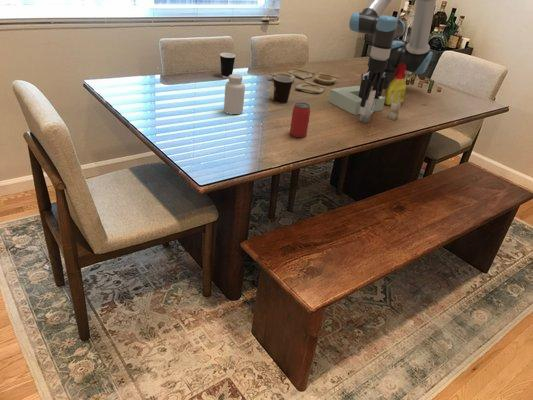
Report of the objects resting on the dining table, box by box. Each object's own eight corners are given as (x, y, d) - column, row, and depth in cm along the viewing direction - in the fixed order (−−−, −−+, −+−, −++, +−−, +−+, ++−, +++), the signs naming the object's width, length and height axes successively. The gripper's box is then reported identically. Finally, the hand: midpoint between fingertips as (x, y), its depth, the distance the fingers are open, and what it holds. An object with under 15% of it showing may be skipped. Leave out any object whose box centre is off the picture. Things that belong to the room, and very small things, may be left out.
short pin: (392, 116, 197) (396, 101, 194) (398, 119, 195) (402, 104, 191) (386, 117, 195) (389, 102, 192) (392, 120, 193) (396, 105, 189)
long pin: (363, 118, 190) (371, 87, 183) (370, 122, 188) (378, 90, 180) (357, 120, 188) (364, 88, 181) (363, 123, 186) (371, 91, 178)
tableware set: (314, 97, 210) (316, 89, 207) (263, 82, 221) (264, 74, 219) (343, 82, 236) (344, 75, 234) (296, 70, 247) (297, 62, 245)
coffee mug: (288, 105, 195) (291, 83, 190) (269, 102, 196) (272, 80, 191) (292, 97, 205) (295, 76, 200) (274, 94, 206) (276, 73, 201)
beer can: (288, 130, 170) (292, 101, 164) (304, 131, 171) (309, 102, 165) (290, 137, 165) (294, 107, 159) (307, 138, 166) (312, 108, 159)
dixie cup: (215, 76, 220) (216, 54, 214) (224, 73, 226) (225, 51, 220) (228, 80, 217) (229, 58, 211) (237, 77, 223) (238, 55, 217)
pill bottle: (228, 116, 177) (230, 79, 169) (220, 108, 183) (222, 73, 175) (246, 114, 180) (249, 78, 172) (238, 107, 186) (240, 72, 178)
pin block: (355, 97, 215) (358, 85, 211) (382, 110, 202) (385, 97, 199) (328, 101, 205) (330, 88, 202) (354, 115, 193) (357, 102, 190)
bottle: (387, 107, 207) (398, 65, 196) (378, 102, 212) (388, 61, 201) (405, 105, 213) (416, 63, 202) (395, 100, 217) (406, 60, 207)
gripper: (386, 54, 181) (373, 108, 193) (357, 56, 172) (345, 112, 184) (400, 59, 176) (385, 114, 188) (370, 61, 167) (357, 119, 179)
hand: (365, 113), depth 186 cm, fingers closed on long pin, 4 cm apart
